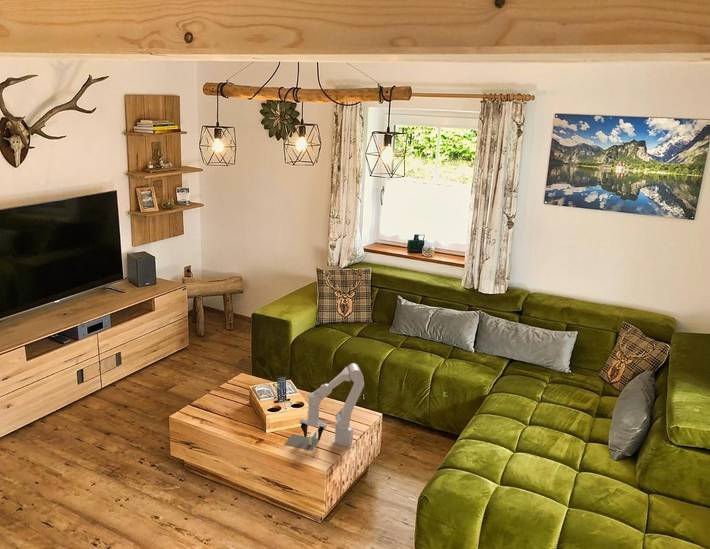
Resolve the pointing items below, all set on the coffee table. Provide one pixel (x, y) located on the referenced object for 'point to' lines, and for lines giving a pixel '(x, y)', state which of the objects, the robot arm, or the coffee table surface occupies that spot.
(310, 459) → the coffee table surface
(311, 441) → the tile
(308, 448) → the mat
